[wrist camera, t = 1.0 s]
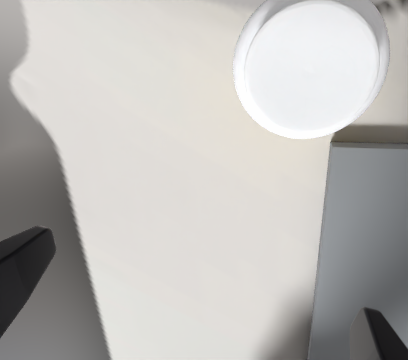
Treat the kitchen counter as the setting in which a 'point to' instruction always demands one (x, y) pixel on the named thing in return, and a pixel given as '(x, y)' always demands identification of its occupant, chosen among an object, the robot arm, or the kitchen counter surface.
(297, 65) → the supplement bottle
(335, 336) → the board
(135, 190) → the kitchen counter surface
